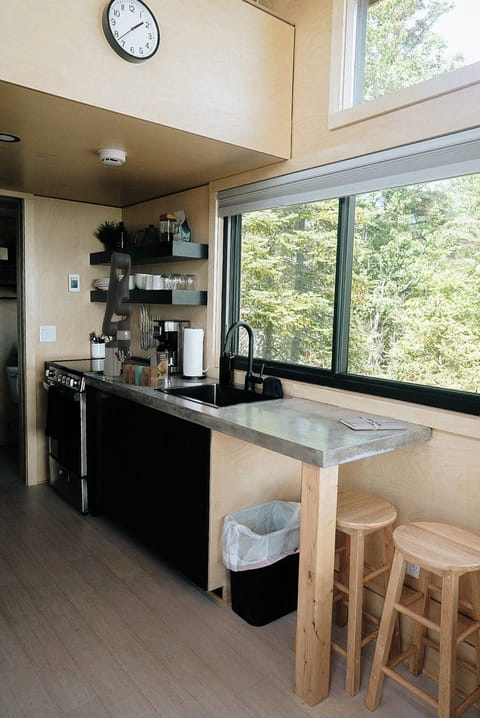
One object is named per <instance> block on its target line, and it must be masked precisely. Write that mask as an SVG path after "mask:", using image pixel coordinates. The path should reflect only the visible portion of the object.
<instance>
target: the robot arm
mask: <svg viewBox="0 0 480 718" xmlns="http://www.w3.org/2000/svg"><path fill="white" fill-rule="evenodd" d="M131 268H132V258H131V256H130V254H127V253H121V252H113V253H112V254H111V258H110V268H109V269H110V270H109V281H108V288H107V294H106V304H105V310H104V311H105V312H104V316H103V320H102V326H101V333H102V336H103V337H112V339H111V340H109V341H107V342H105V343H104V359H103V376H106V377H118V376H121V370H123V365H127V363H128V362H130V360H131V358H132V356H133V355H134V353H133V352H131V351H130V350H131V349H130V347H131V320H132V315H133V313H134V305H132V304H131V303H125V302H128V301H129V300H130V279H131ZM117 270H124V273H123V276H122V277H121V279H120V280H119V278H118V275H117ZM114 314H115V316H117V317H125V318H124V319H120V320H118V321H114V320H113V321H112V319H113V316H114Z"/></svg>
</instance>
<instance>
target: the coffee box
mask: <svg viewBox="0 0 480 718" xmlns="http://www.w3.org/2000/svg"><path fill="white" fill-rule="evenodd" d="M150 367H151V368H155V367H156V368H158V380H163V379H168V377H169V372H168V371H169V352H167V351H166V352H165V351H154V352H153V351H152V352H150Z"/></svg>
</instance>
